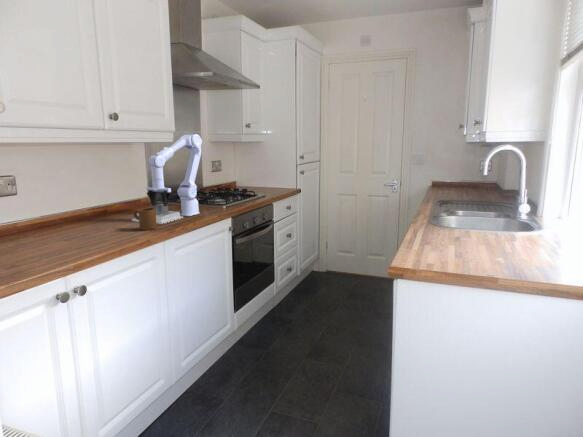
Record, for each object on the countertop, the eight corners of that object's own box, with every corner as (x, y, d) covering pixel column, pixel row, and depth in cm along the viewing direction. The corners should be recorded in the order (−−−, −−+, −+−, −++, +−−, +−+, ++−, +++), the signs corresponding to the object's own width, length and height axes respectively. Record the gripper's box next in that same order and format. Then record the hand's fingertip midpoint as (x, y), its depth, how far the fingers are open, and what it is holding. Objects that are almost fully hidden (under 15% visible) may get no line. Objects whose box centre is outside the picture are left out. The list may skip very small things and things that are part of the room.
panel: (165, 216, 219) (164, 203, 218) (168, 216, 218) (167, 203, 217) (153, 219, 211) (152, 205, 210) (156, 219, 210) (155, 206, 209)
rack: (154, 215, 227) (153, 209, 226) (183, 218, 218) (182, 211, 218) (131, 221, 213) (131, 214, 212) (161, 224, 204) (161, 217, 204)
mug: (129, 229, 193) (127, 209, 191) (141, 226, 200) (139, 207, 198) (148, 231, 188) (147, 211, 186) (160, 228, 195) (158, 208, 193)
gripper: (141, 179, 210) (143, 205, 213) (163, 180, 204) (165, 207, 207) (151, 178, 216) (153, 203, 219) (173, 179, 210) (174, 205, 213)
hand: (159, 205), depth 213 cm, fingers open, 7 cm apart
